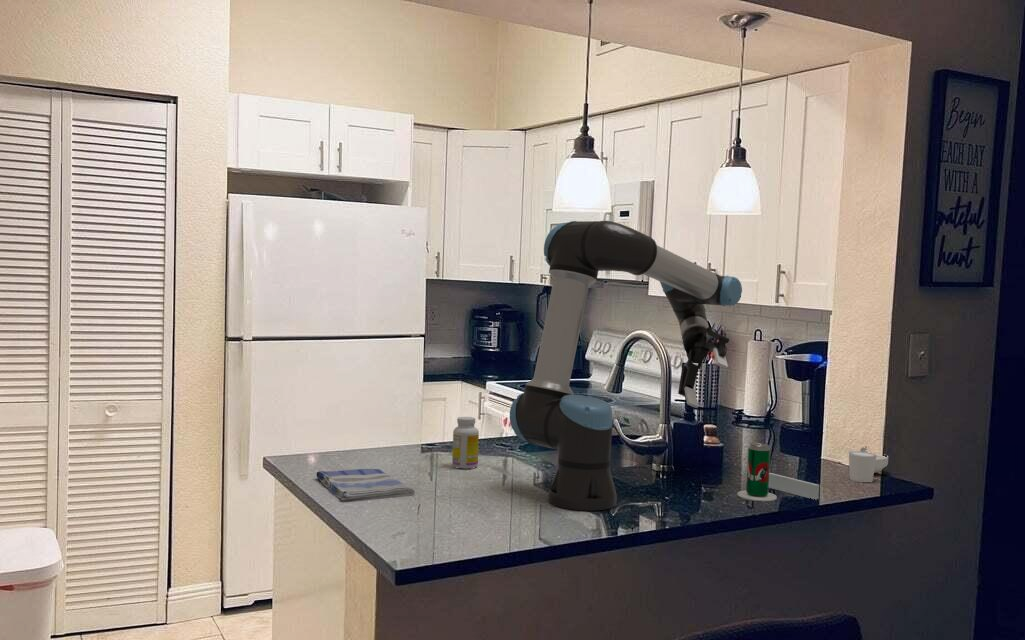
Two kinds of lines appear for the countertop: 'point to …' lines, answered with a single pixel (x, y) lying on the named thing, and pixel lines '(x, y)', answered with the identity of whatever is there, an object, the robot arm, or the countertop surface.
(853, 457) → the white cup
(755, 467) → the soda can
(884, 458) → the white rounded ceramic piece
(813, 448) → the countertop surface
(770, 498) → the disc
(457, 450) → the supplement bottle
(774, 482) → the acrylic fence
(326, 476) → the dish towel
